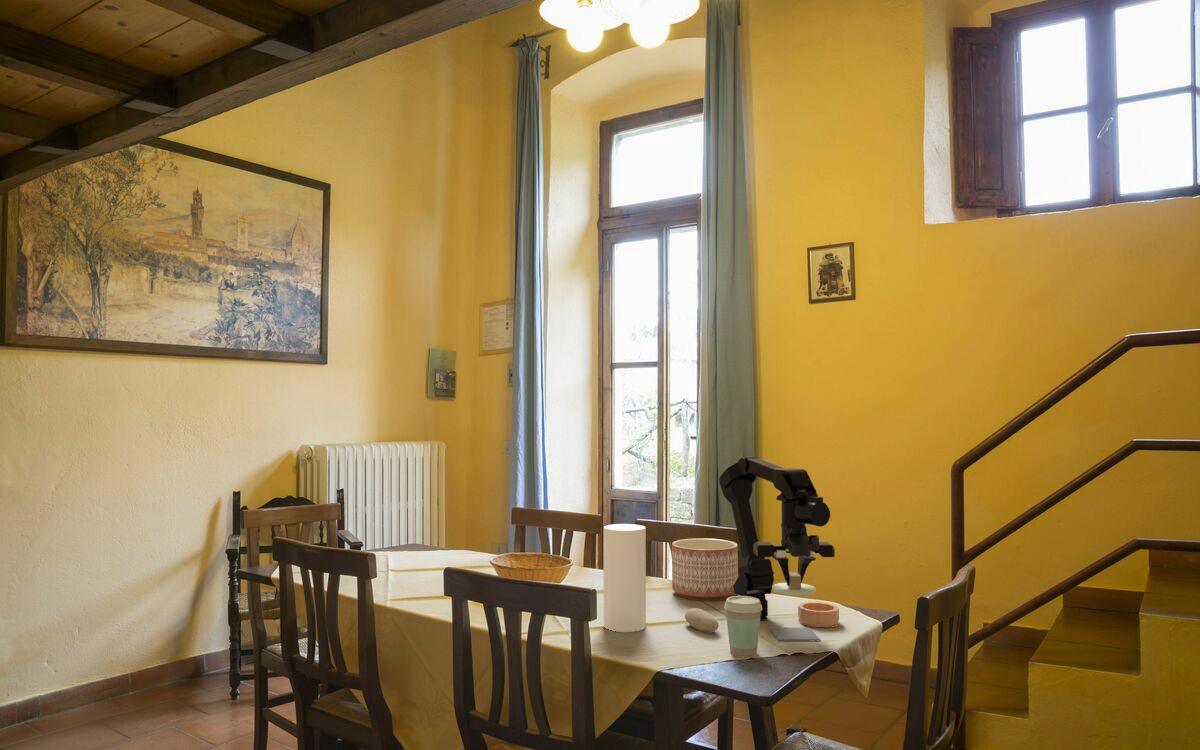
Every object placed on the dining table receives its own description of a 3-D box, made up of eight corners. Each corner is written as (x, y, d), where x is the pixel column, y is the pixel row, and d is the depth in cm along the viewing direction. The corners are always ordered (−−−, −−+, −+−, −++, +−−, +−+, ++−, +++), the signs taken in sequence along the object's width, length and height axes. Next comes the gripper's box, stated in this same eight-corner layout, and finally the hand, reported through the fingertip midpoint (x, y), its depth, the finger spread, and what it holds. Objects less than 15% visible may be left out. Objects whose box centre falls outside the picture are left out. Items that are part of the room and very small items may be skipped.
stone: (697, 611, 210) (726, 607, 201) (695, 636, 208) (724, 634, 198) (679, 606, 208) (708, 602, 198) (676, 631, 205) (706, 629, 196)
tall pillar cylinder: (648, 631, 201) (648, 530, 201) (605, 632, 200) (605, 530, 201) (643, 620, 211) (642, 523, 212) (602, 621, 211) (602, 524, 211)
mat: (778, 641, 193) (778, 639, 193) (769, 629, 203) (769, 627, 203) (820, 641, 193) (820, 639, 193) (809, 629, 203) (809, 627, 203)
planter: (678, 585, 252) (678, 537, 252) (741, 589, 246) (740, 539, 247) (666, 599, 233) (666, 547, 234) (733, 604, 228) (733, 551, 228)
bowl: (804, 627, 204) (804, 611, 204) (794, 617, 214) (794, 602, 214) (843, 627, 204) (843, 611, 204) (832, 617, 214) (831, 602, 214)
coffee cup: (754, 646, 189) (754, 594, 189) (768, 658, 180) (768, 603, 181) (719, 648, 187) (719, 596, 188) (731, 660, 179) (731, 605, 179)
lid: (777, 595, 193) (777, 579, 193) (768, 585, 203) (767, 569, 204) (821, 595, 193) (821, 579, 193) (809, 585, 204) (809, 569, 204)
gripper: (762, 525, 191) (762, 592, 190) (841, 526, 191) (842, 592, 190) (752, 518, 202) (753, 582, 201) (827, 518, 202) (828, 582, 202)
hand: (793, 585), depth 198 cm, fingers closed on lid, 2 cm apart
